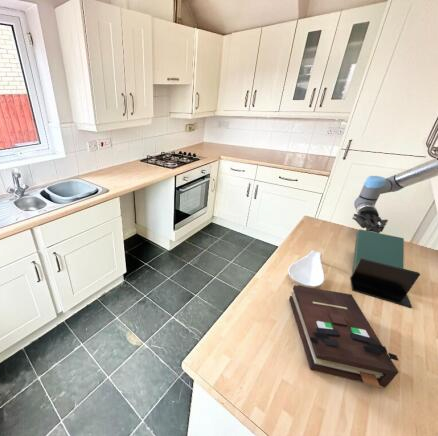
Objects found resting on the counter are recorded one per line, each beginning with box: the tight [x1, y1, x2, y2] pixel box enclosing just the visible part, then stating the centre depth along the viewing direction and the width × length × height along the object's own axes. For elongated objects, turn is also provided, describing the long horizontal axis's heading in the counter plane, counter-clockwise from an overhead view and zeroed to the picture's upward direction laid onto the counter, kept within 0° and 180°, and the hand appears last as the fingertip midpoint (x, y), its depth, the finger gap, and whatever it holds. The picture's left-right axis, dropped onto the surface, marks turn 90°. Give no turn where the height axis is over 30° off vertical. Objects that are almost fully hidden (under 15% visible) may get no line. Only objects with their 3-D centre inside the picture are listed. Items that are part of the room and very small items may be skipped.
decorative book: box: [288, 284, 400, 388], centre depth 71 cm, size 19×8×30 cm
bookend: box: [349, 258, 421, 309], centre depth 86 cm, size 16×8×10 cm, turn 59°
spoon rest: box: [287, 249, 325, 289], centre depth 96 cm, size 24×12×7 cm, turn 138°
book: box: [351, 228, 405, 273], centre depth 96 cm, size 14×20×3 cm
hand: (375, 235), depth 103 cm, fingers closed
